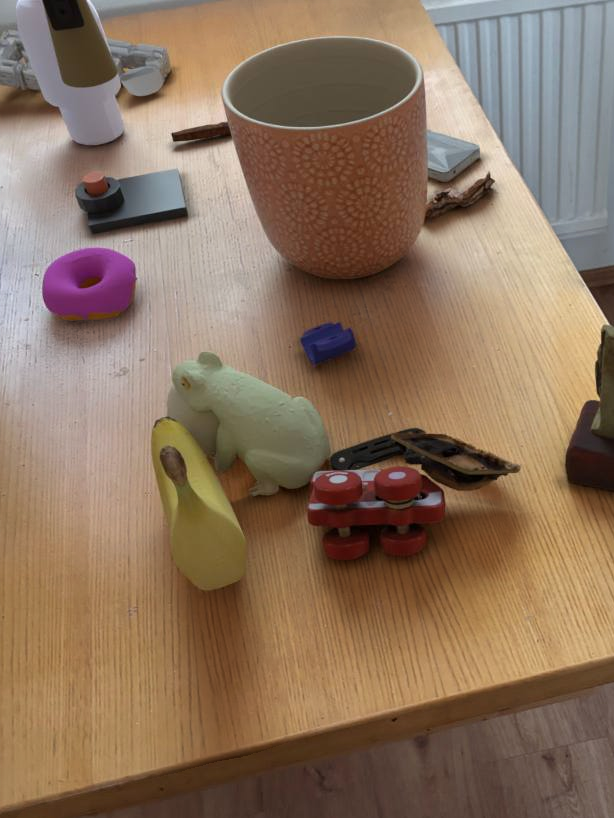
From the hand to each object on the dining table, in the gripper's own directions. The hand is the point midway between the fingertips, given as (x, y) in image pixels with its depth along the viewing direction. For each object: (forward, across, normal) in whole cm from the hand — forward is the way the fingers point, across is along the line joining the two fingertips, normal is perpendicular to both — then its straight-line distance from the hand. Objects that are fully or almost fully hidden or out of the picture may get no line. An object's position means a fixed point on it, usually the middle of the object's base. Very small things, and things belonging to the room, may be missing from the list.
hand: (68, 14), depth 96 cm
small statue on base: (+24, +58, +41) cm, 75 cm away
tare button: (+21, -6, -4) cm, 22 cm away
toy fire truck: (+19, +62, +17) cm, 67 cm away
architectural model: (+19, -42, -5) cm, 46 cm away
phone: (+22, -6, +36) cm, 43 cm away
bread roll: (+23, +55, +30) cm, 67 cm away
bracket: (+21, +32, +18) cm, 42 cm away
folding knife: (+23, +48, +20) cm, 56 cm away
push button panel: (+23, -6, 0) cm, 24 cm away
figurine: (+24, +45, +8) cm, 51 cm away
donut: (+24, +14, -6) cm, 28 cm away
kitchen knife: (+24, -22, +16) cm, 36 cm away
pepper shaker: (+6, 0, 0) cm, 6 cm away
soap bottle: (+23, -26, -4) cm, 35 cm away
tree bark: (+25, +6, +37) cm, 45 cm away
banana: (+23, +57, +3) cm, 61 cm away
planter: (+23, +14, +24) cm, 36 cm away
